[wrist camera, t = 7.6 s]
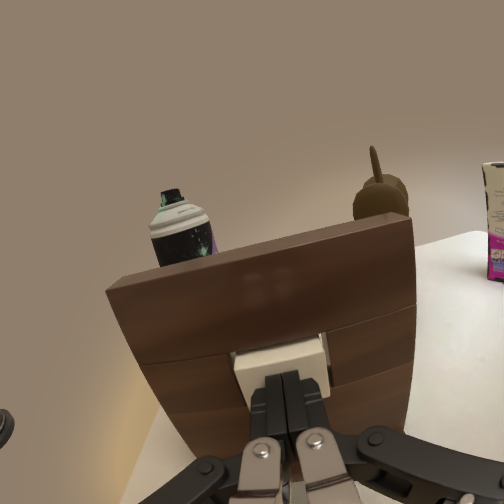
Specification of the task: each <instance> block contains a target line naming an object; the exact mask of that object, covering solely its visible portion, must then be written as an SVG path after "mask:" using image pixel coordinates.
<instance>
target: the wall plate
mask: <svg viewBox="0 0 504 504" xmlns="http://www.w3.org/2000/svg"><path fill="white" fill-rule="evenodd" d="M105 292H106V295H107V297H108V300H109V302H110V305H111V307H112V309H113V312H114V314H115V316H116V319H117V321H118V323H119V325H120V328H121V330H122V332H123V334H124V336H125V338H126V341H127V343H128V345H129V347H130V349H131V351H132V353H133V355H134V357H135V359H136V361H137V363H138V364H139V367H140V369H141V371H142V373H143V374H144V376H145V378H146V380H147V382H148V383H149V385H150V387H151V389H152V390H153V392H154V394H155V396H156V397H157V399H158V401H159V402H160V404H161V406H162V407H163V409H164V411H165V412H166V414H167V416H168V417H169V419H170V420H171V422H172V423H173V425H174V426H175V428H176V429H177V431H178V432H179V434H180V435H181V437H182V438H183V440H184V441H185V443H186V444H187V445H188V447H189V448H190V450H191V451H192V452H193V454H194V455H195V456H196V458H197V459H198V458H200V457H203V456H215V457H218V458H220V459H221V460H224V459H227V458H230V457H233V456H236V455H238V454H240V453H241V452H242V451H244V448H245V446H246V445H247V444H248V443H249V439H250V415H251V414H250V411H249V408H248V406H247V403H246V401H245V398H244V396H243V393H242V391H241V388H240V385H239V383H238V380H237V378H236V375H235V372H234V362H235V353H236V352H237V351H243V350H248V349H253V348H258V347H263V346H268V345H273V344H277V343H282V342H286V341H290V340H295V339H299V338H303V337H307V336H311V335H315V334H319V333H321V336H322V343H323V348H324V351H325V358H326V365H327V372H328V379H329V387H330V396H329V397H326V398H323V402H324V406H325V410H326V413H327V417H328V421H329V424H330V427H331V428H332V429H333V430H334V431H335V432H336V433H339V434H342V435H360V434H361V433H362V432H363V431H364V430H365V429H367V428H369V427H373V426H385V427H388V428H391V429H393V430H396V431H398V432H401V433H404V431H403V429H404V425H405V419H406V414H407V408H408V402H409V396H410V389H411V382H412V373H413V364H414V352H415V338H416V311H417V305H416V264H415V248H414V236H413V227H412V219H411V217H407V216H404V215H400V214H397V213H393V212H389V213H385V214H381V215H376V216H372V217H368V218H364V219H359V220H355V221H351V222H347V223H342V224H338V225H334V226H330V227H325V228H321V229H317V230H313V231H308V232H304V233H300V234H296V235H292V236H287V237H283V238H279V239H275V240H271V241H266V242H262V243H258V244H254V245H250V246H246V247H242V248H237V249H234V250H229V251H225V252H221V253H217V254H213V255H209V256H205V257H200V258H196V259H192V260H188V261H184V262H180V263H176V264H172V265H168V266H164V267H160V268H156V269H152V270H148V271H144V272H140V273H136V274H132V275H128V276H124V277H122V278H120V279H119V280H118V281H117V282H115V283H114V284H113V285H112V286H110V287H109V288H108V289H107V290H106V291H105ZM404 434H405V433H404ZM295 456H296V454H295ZM291 477H292V482H298V481H303V480H304V478H303V473H302V469H301V465H300V462H298V461H297V457H296V463H291Z"/></svg>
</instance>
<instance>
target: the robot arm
mask: <svg viewBox="0 0 504 504" xmlns="http://www.w3.org/2000/svg"><path fill="white" fill-rule="evenodd" d="M282 376H283V378H282ZM250 414H251V415H250V439H249V443H248V444H247V445H246V446H245V448H244V451H242V452H241V453H240V454H238V455H236V456H233V457H230V458H227V459H224V460H221V459H220V458H218V457H215V456H203V457H200V458H198V459H196V460H195V461H193V462H192V463H191V464H190V465H189V466H187V467H186V468H185V469H184V470H183V471H181V472H180V473H179V474H178V475H176V476H175V477H174V478H172V479H171V480H170V481H169V482H167V483H166V484H165V485H163V486H162V487H161V488H159V489H158V490H157V491H155V492H154V493H153V494H151V495H150V496H148V497H147V498H146V499H144V500H143V501H141V502H140V503H138V504H292V477H291V463H296V457H297V461H298V462H300V465H301V469H302V473H303V478H304V482H305V486H306V492H307V497H308V501H309V504H362V502H361V500H360V497H359V494H358V492H357V489H356V486H355V484H354V481H358V482H359V483H361V484H362V485H364V486H366V487H368V488H370V489H372V490H374V491H377V492H379V493H381V494H383V495H385V496H387V497H390V498H392V499H394V500H396V501H399V502H401V503H403V504H504V462H499V461H494V460H490V459H485V458H481V457H477V456H473V455H469V454H465V453H462V452H458V451H455V450H451V449H448V448H445V447H441V446H438V445H435V444H432V443H429V442H426V441H423V440H420V439H417V438H415V437H412V436H409V435H406V434H404V433H401V432H398V431H396V430H393V429H391V428H388V427H385V426H373V427H369V428H367V429H365V430H364V431H363V432H362V433H361V434H360V435H342V434H339V433H336V432H335V431H334V430H333V429H332V428H331V427H330V424H329V421H328V417H327V413H326V410H325V406H324V402H323V398H322V395H321V391H320V388H319V384H318V383H317V382H316V381H315V380H314V379H313V378H312V377H311V378H307V379H302V380H300V377H299V372H298V369H297V370H293V371H288V372H283V373H282V374H281V373H279V374H274V375H269V376H265V387H263V388H258V389H255V391H254V392H253V394H252V396H251V408H250ZM5 423H6V417H5V415H4V414H3V413H2V411H0V434H1V432H2V431H3V429H4V426H5ZM295 454H296V456H295Z"/></svg>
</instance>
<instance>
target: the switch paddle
mask: <svg viewBox="0 0 504 504" xmlns="http://www.w3.org/2000/svg"><path fill="white" fill-rule="evenodd" d="M297 369H298V372H299V377H300V380H302V379H307V378H311V377H312V378H313V379H314V380H315V381H316V382H317V383H318V384H319V388H320V391H321V395H322V398H326V397H329V396H330V387H329V379H328V372H327V365H326V358H325V351H324V348H323V345H322V343H321V340H320V338H319V335H318V334H315V335H311V336H307V337H303V338H299V339H295V340H290V341H286V342H282V343H277V344H273V345H268V346H263V347H258V348H253V349H248V350H243V351H237V352H236V353H235V362H234V372H235V375H236V378H237V380H238V383H239V385H240V388H241V391H242V393H243V396H244V398H245V401H246V403H247V406H248V408H249V411H250V408H251V396H252V394H253V392H254V391H255V389H258V388H263V387H265V376H269V375H274V374H279V373H281V374H282V373H283V372H288V371H293V370H297ZM282 378H283V376H282Z"/></svg>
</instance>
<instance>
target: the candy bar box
mask: <svg viewBox="0 0 504 504" xmlns="http://www.w3.org/2000/svg"><path fill="white" fill-rule="evenodd" d="M482 170H483V178H484V185H485V193H486V205H487V221H488V267H487V278H488V279H491V280H497V281H502V282H504V162H488V163H484V164H482Z"/></svg>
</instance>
